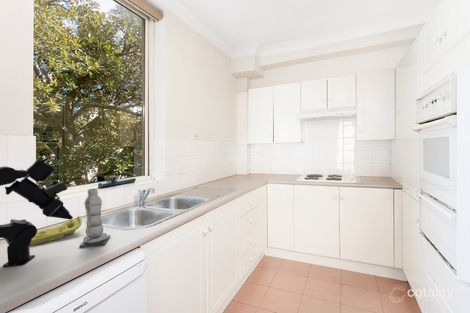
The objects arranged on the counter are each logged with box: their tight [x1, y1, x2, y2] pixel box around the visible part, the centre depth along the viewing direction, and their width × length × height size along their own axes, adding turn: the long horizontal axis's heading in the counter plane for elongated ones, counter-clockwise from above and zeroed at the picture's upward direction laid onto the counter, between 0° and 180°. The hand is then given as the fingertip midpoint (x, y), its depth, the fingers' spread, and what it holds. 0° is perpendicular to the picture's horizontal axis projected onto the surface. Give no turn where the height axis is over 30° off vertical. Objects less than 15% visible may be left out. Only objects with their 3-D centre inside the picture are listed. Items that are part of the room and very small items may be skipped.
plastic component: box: [29, 215, 83, 246], centre depth 109 cm, size 20×7×10 cm
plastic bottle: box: [83, 188, 104, 238], centre depth 101 cm, size 6×7×20 cm
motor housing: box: [79, 232, 111, 249], centre depth 101 cm, size 9×9×2 cm
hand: (70, 215), depth 95 cm, fingers open, 9 cm apart
